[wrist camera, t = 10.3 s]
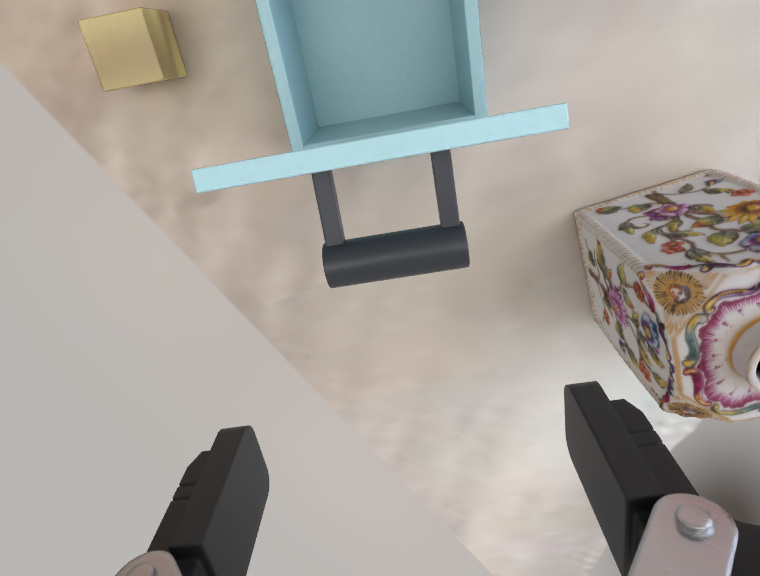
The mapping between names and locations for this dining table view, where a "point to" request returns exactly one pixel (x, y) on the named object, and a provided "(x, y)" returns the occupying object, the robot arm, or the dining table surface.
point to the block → (133, 48)
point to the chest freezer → (373, 66)
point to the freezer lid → (400, 248)
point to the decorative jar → (681, 290)
